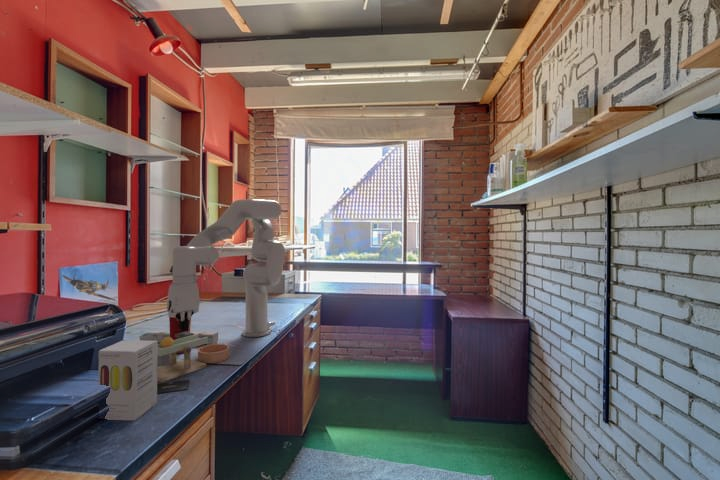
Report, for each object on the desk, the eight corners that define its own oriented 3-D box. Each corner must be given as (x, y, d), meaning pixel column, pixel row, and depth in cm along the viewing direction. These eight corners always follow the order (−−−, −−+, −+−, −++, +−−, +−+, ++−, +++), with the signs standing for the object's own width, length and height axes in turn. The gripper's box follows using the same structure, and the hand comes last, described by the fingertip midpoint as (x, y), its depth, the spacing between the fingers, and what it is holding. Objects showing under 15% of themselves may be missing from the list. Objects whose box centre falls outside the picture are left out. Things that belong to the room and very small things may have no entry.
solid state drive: (151, 386, 103) (151, 384, 103) (189, 381, 107) (189, 379, 107) (147, 397, 97) (147, 394, 97) (187, 391, 100) (187, 388, 100)
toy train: (145, 340, 147) (145, 329, 147) (218, 343, 145) (218, 331, 145) (138, 344, 142) (138, 332, 142) (212, 346, 140) (212, 334, 140)
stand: (187, 360, 124) (187, 337, 124) (206, 366, 118) (206, 343, 118) (142, 374, 111) (142, 349, 111) (161, 382, 105) (161, 356, 105)
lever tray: (186, 344, 130) (186, 329, 130) (210, 352, 122) (210, 336, 122) (136, 358, 115) (136, 341, 115) (160, 367, 107) (160, 349, 107)
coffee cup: (183, 354, 129) (184, 313, 129) (162, 353, 129) (163, 313, 130) (196, 348, 137) (197, 309, 137) (176, 347, 138) (177, 309, 138)
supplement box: (96, 420, 84) (96, 350, 83) (122, 402, 93) (122, 339, 93) (135, 421, 83) (135, 351, 83) (158, 402, 93) (158, 339, 92)
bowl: (217, 351, 133) (217, 342, 133) (235, 356, 128) (235, 347, 128) (191, 359, 125) (191, 349, 125) (209, 365, 119) (209, 355, 119)
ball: (170, 345, 115) (169, 334, 114) (176, 347, 113) (175, 336, 112) (159, 349, 112) (158, 338, 111) (165, 351, 110) (164, 340, 109)
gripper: (197, 277, 135) (196, 325, 135) (157, 281, 122) (157, 333, 122) (209, 279, 130) (208, 328, 131) (169, 283, 118) (168, 337, 118)
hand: (183, 330), depth 126 cm, fingers closed
